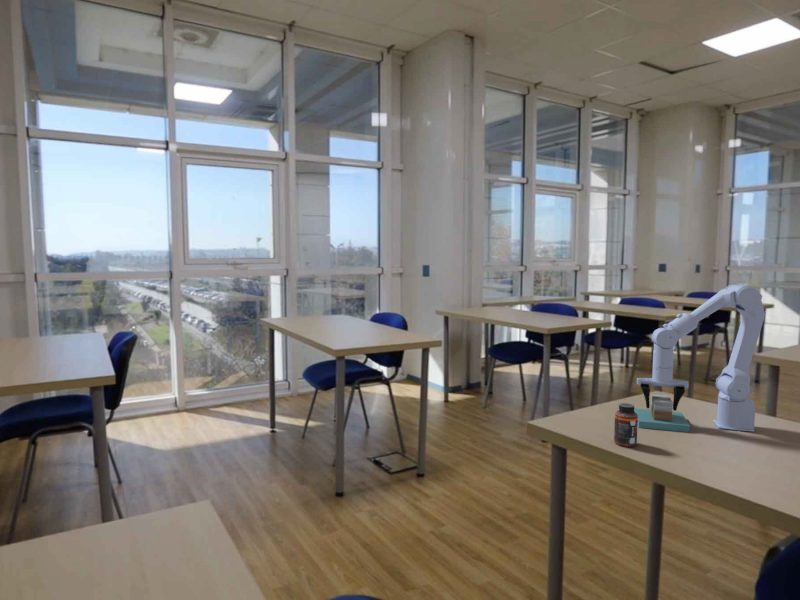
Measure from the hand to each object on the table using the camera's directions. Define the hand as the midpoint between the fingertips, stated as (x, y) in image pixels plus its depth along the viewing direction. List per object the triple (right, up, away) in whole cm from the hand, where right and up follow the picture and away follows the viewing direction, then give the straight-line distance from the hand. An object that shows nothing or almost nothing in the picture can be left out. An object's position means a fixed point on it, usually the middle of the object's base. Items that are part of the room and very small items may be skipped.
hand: (661, 408), depth 164 cm
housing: (0, -3, 0) cm, 3 cm away
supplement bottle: (-19, -7, -17) cm, 26 cm away
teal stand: (0, -5, 0) cm, 5 cm away
